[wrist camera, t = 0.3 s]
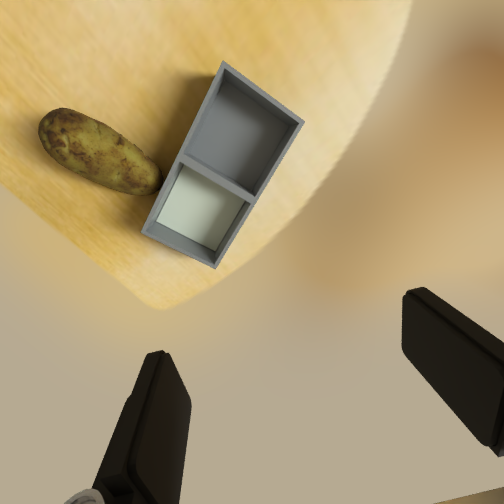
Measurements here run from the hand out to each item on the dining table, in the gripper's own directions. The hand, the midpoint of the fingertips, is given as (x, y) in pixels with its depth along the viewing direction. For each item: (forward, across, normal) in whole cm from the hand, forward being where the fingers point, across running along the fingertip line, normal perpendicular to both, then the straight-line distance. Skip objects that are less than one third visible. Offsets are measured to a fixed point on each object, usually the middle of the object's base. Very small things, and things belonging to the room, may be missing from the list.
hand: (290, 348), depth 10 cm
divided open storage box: (+31, +2, -4) cm, 31 cm away
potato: (+31, +15, -9) cm, 36 cm away
